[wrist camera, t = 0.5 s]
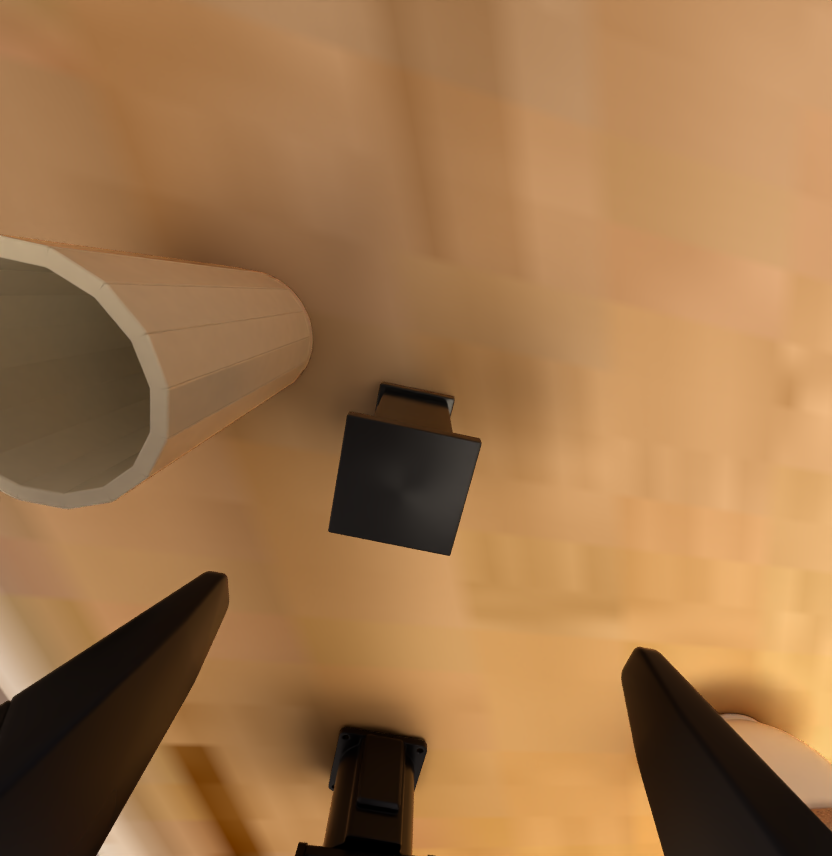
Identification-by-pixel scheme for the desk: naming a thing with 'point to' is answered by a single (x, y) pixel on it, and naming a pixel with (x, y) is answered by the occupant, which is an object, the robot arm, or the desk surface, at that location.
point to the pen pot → (129, 363)
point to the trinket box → (790, 762)
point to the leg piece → (404, 472)
